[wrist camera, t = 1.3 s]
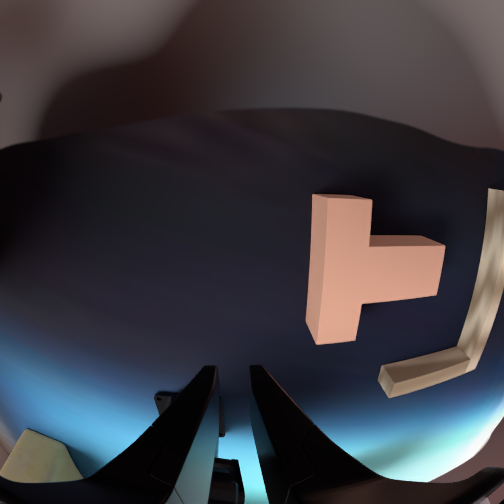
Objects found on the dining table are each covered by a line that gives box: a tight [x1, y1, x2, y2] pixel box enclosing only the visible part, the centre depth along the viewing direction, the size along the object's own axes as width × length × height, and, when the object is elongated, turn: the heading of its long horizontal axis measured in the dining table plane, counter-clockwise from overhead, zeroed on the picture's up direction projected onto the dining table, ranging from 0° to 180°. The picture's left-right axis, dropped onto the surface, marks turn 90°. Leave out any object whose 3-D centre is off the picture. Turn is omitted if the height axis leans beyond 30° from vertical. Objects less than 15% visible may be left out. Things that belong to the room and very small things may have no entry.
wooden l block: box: [378, 188, 504, 398], centre depth 20 cm, size 20×13×3 cm, turn 0°
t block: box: [306, 194, 445, 345], centre depth 19 cm, size 10×10×4 cm
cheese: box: [0, 429, 83, 483], centre depth 22 cm, size 22×10×15 cm, turn 179°
